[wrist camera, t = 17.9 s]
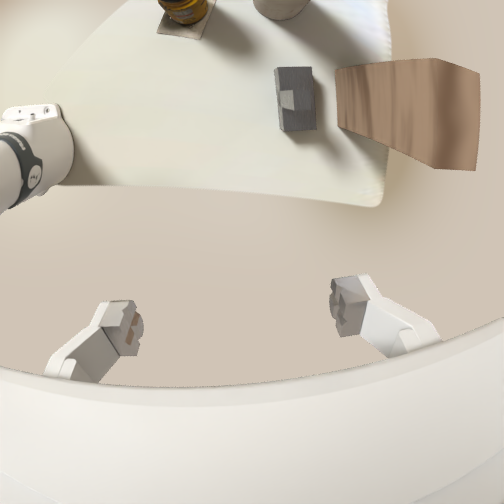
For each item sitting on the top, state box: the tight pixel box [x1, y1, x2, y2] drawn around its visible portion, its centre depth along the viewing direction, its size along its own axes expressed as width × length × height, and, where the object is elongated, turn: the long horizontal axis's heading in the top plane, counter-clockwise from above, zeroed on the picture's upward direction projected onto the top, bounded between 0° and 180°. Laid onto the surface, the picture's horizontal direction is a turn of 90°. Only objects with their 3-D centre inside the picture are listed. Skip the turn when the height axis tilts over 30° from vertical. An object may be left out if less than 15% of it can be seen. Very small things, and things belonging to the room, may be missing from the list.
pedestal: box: [335, 58, 480, 171], centre depth 28 cm, size 6×10×26 cm, turn 6°
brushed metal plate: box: [274, 67, 317, 131], centre depth 33 cm, size 13×10×5 cm
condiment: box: [156, 0, 216, 40], centre depth 25 cm, size 7×8×12 cm
